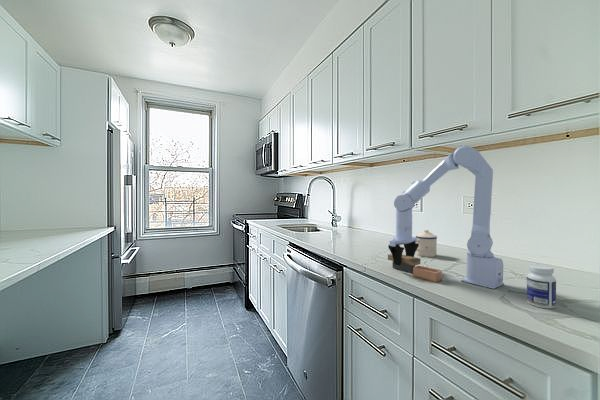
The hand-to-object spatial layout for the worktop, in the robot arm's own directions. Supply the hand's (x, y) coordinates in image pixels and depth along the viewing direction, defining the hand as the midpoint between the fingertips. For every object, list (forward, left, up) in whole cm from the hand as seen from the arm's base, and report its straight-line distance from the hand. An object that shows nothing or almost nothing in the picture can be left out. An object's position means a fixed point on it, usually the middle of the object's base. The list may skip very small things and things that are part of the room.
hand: (403, 263), depth 104 cm
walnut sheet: (0, 0, +1) cm, 1 cm away
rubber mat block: (0, 0, -2) cm, 2 cm away
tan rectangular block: (-11, +3, -2) cm, 12 cm away
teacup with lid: (+9, -29, -3) cm, 30 cm away
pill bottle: (-40, 0, -3) cm, 40 cm away
